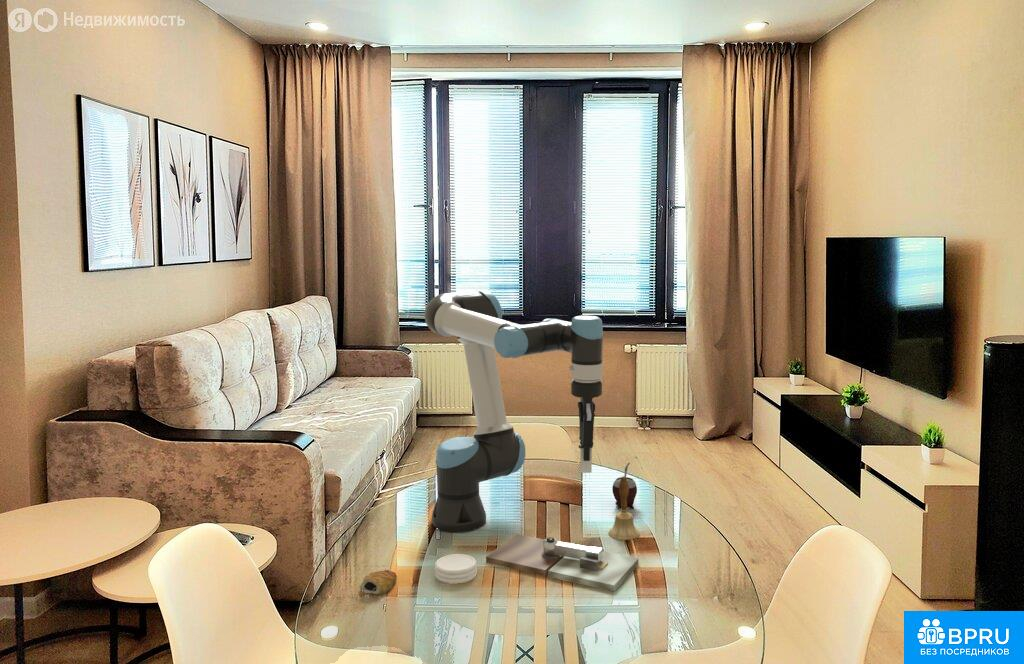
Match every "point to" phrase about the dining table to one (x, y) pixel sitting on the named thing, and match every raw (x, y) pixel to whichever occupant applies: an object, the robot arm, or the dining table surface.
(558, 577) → the door board
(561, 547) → the swing bar
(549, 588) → the dining table surface
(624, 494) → the hand bell
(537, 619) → the dining table surface
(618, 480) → the mate gourd
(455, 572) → the coaster
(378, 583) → the pastry
